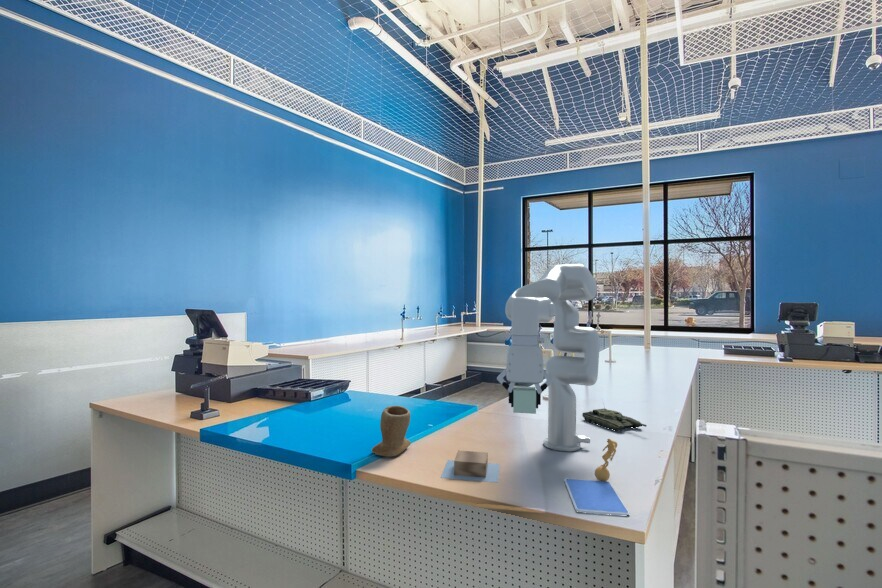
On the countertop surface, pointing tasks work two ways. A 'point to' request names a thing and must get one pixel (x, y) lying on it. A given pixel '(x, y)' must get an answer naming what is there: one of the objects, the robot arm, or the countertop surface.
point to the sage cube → (524, 400)
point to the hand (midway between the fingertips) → (524, 406)
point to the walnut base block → (471, 464)
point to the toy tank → (611, 419)
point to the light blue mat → (490, 476)
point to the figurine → (602, 471)
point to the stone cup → (393, 431)
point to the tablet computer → (595, 497)
